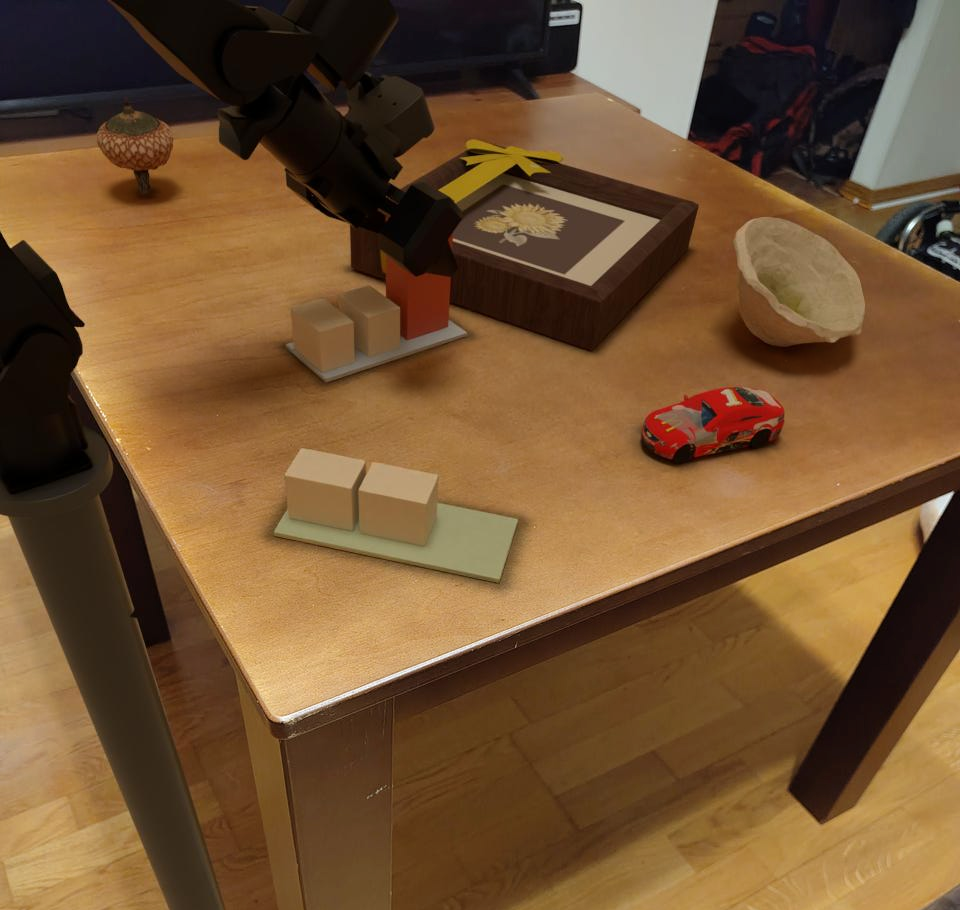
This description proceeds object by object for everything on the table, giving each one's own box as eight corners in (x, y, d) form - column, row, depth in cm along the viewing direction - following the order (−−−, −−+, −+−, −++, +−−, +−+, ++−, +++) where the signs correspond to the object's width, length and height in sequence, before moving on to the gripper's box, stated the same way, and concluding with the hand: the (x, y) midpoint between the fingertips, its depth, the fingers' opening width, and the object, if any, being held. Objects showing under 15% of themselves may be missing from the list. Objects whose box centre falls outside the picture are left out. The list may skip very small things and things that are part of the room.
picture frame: (345, 206, 89) (487, 126, 107) (347, 271, 94) (482, 183, 112) (601, 290, 81) (706, 188, 100) (589, 355, 86) (691, 247, 105)
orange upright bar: (407, 340, 85) (409, 211, 76) (385, 325, 86) (385, 196, 77) (448, 326, 87) (455, 199, 78) (427, 311, 89) (431, 185, 80)
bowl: (805, 394, 84) (845, 293, 77) (682, 336, 90) (708, 236, 83) (875, 342, 92) (917, 245, 85) (758, 291, 98) (788, 197, 91)
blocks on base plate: (325, 382, 79) (323, 337, 76) (286, 348, 83) (281, 303, 80) (467, 336, 87) (470, 293, 84) (425, 305, 90) (426, 263, 87)
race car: (657, 470, 74) (667, 429, 71) (627, 433, 78) (636, 393, 75) (788, 445, 78) (803, 405, 75) (754, 411, 81) (767, 372, 78)
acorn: (149, 174, 107) (132, 79, 100) (198, 194, 104) (183, 98, 97) (93, 193, 102) (70, 95, 95) (142, 214, 99) (122, 116, 92)
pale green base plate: (273, 535, 65) (267, 488, 62) (307, 479, 70) (303, 432, 67) (499, 583, 64) (505, 536, 60) (517, 522, 68) (524, 476, 65)
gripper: (449, 82, 62) (544, 213, 75) (306, 13, 71) (414, 140, 85) (357, 220, 64) (466, 323, 78) (230, 135, 73) (347, 241, 87)
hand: (423, 251), depth 82 cm, fingers open, 9 cm apart
